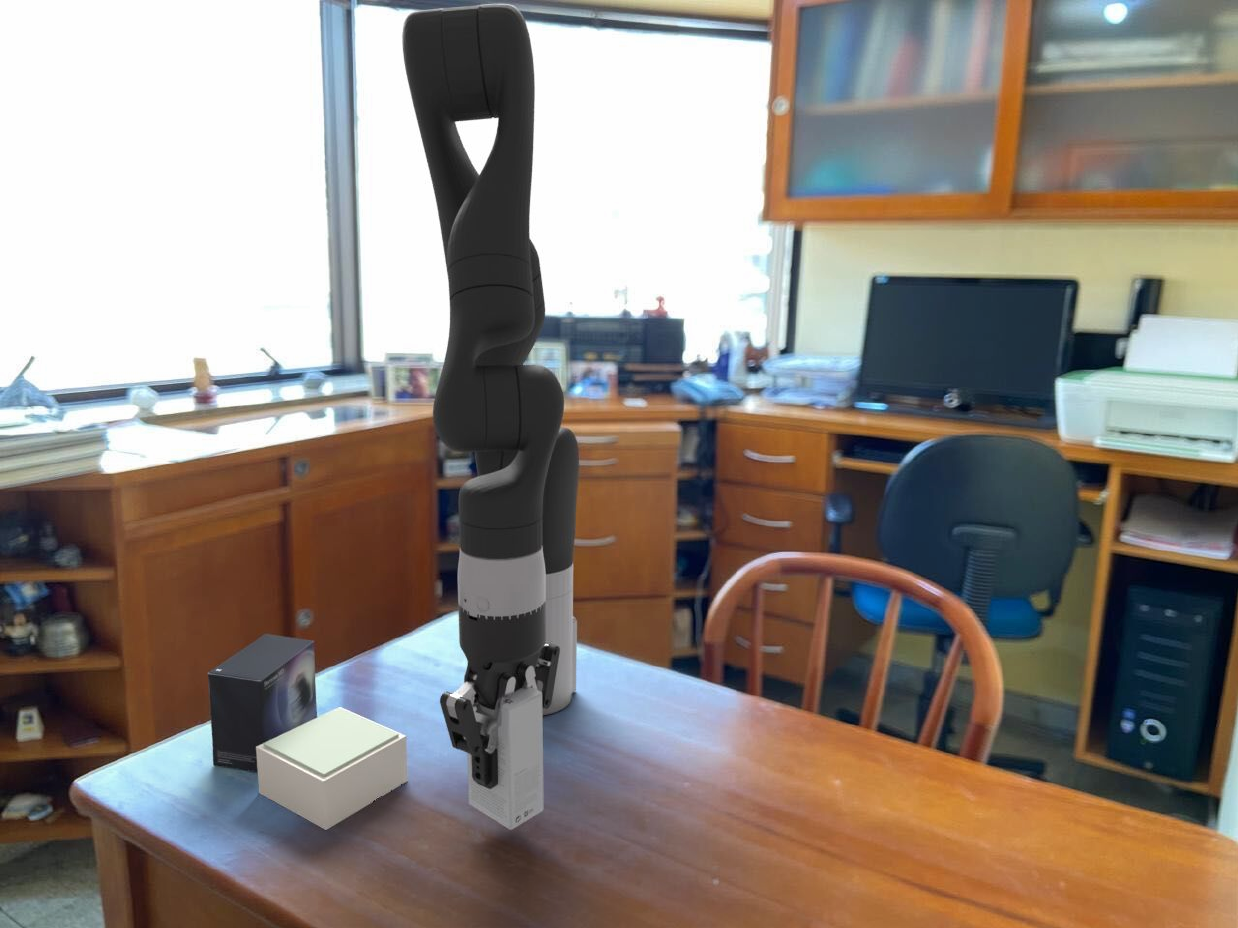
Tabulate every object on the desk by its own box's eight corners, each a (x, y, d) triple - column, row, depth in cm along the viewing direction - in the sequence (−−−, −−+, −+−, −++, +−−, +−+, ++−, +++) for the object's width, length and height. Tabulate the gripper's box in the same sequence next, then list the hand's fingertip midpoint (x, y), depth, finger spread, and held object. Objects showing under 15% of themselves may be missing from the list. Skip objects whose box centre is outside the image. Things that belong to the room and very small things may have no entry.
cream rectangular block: (341, 749, 98) (339, 704, 97) (407, 780, 92) (406, 732, 91) (259, 792, 90) (255, 743, 89) (325, 829, 84) (323, 778, 83)
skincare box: (545, 810, 84) (544, 692, 81) (510, 832, 81) (508, 709, 78) (501, 784, 88) (499, 670, 85) (466, 803, 85) (463, 686, 82)
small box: (268, 776, 93) (261, 680, 90) (210, 767, 94) (202, 673, 92) (321, 725, 103) (316, 637, 100) (269, 718, 104) (263, 631, 102)
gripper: (520, 563, 87) (522, 725, 91) (410, 612, 75) (418, 795, 80) (585, 580, 83) (584, 748, 87) (479, 634, 71) (483, 826, 76)
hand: (505, 769), depth 83 cm, fingers closed on skincare box, 4 cm apart
